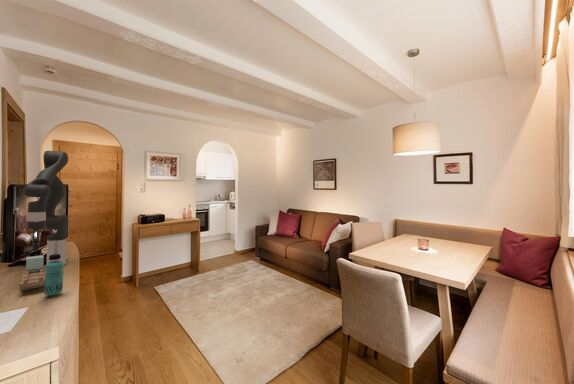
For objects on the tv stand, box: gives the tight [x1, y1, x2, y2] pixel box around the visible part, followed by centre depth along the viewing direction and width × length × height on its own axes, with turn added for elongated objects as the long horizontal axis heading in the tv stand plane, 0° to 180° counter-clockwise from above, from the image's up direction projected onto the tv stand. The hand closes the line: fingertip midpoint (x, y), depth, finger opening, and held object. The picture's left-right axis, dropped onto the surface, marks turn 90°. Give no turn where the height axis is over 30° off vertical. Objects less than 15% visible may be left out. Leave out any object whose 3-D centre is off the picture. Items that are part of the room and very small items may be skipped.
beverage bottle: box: [43, 254, 64, 296], centre depth 117 cm, size 6×7×20 cm
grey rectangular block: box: [25, 254, 45, 272], centre depth 131 cm, size 5×6×8 cm
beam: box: [19, 267, 46, 292], centre depth 126 cm, size 24×10×8 cm, turn 45°
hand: (35, 250), depth 136 cm, fingers closed
